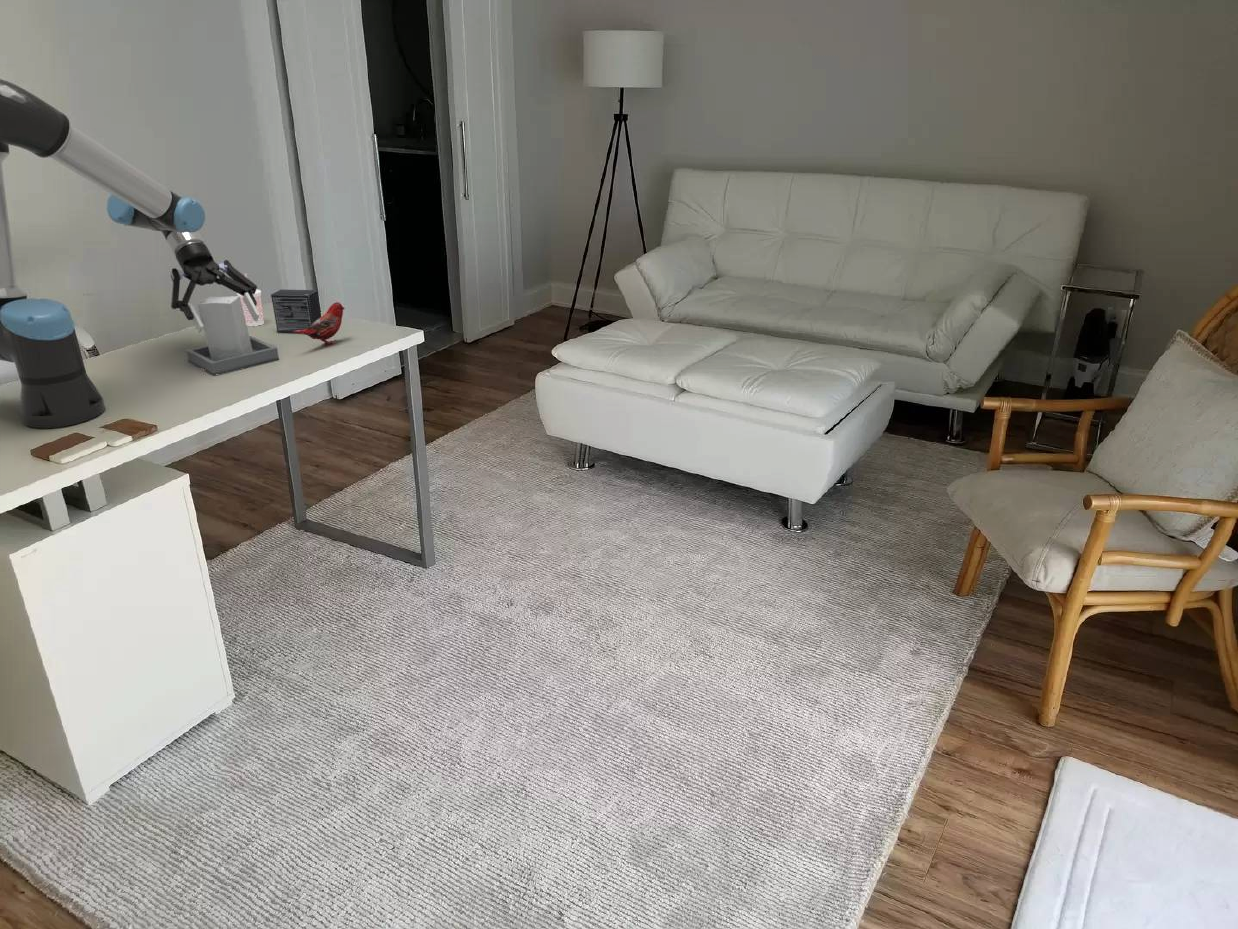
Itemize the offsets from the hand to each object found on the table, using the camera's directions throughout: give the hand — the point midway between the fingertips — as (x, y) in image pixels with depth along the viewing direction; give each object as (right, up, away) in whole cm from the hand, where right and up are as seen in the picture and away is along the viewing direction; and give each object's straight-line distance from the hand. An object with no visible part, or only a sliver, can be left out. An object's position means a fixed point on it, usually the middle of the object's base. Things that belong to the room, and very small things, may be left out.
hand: (230, 323), depth 213 cm
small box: (+7, +3, +28) cm, 29 cm away
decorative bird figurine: (+17, -4, +15) cm, 23 cm away
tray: (-1, -8, +5) cm, 10 cm away
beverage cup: (-7, +5, +33) cm, 34 cm away
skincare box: (-1, -8, +4) cm, 9 cm away
